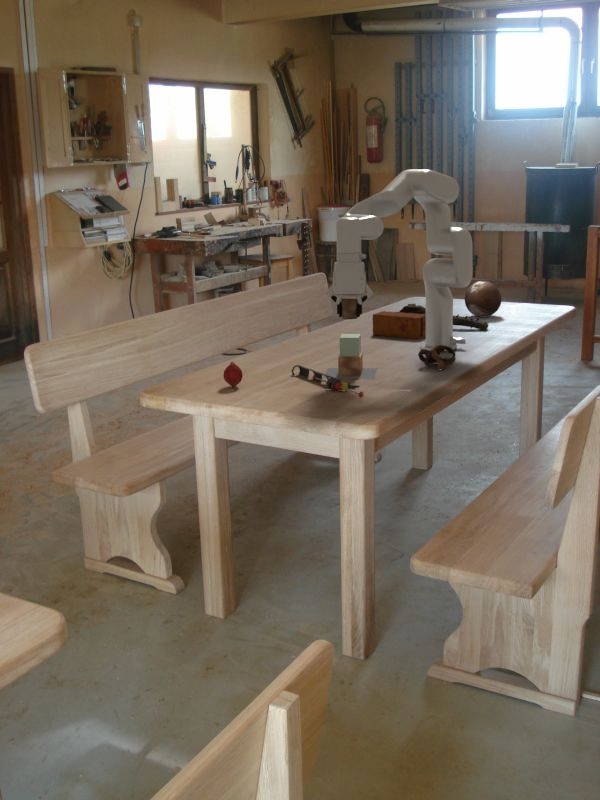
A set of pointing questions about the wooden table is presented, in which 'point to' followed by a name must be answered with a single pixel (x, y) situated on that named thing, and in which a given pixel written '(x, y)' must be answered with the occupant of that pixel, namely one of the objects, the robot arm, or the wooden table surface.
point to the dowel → (349, 308)
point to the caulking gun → (328, 380)
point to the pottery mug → (437, 356)
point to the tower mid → (350, 345)
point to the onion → (233, 374)
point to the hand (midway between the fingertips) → (349, 315)
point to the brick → (399, 325)
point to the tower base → (350, 365)
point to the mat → (366, 374)
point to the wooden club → (456, 319)
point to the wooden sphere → (483, 298)
